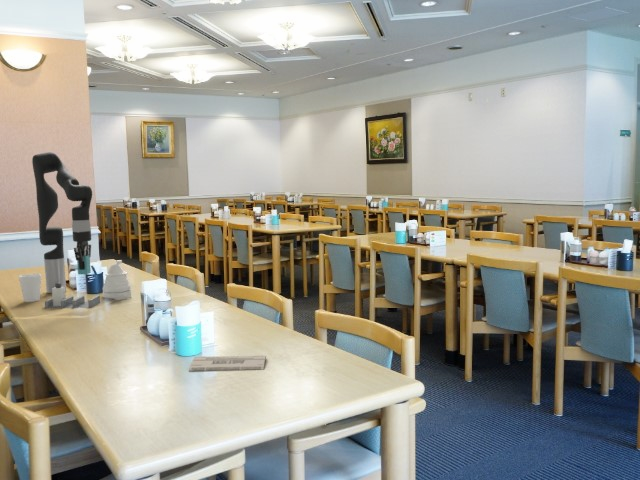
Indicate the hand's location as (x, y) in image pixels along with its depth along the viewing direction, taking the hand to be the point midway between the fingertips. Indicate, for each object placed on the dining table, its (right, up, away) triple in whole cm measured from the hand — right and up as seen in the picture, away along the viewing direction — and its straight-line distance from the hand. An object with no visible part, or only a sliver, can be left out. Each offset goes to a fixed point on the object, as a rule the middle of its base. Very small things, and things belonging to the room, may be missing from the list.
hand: (84, 268), depth 256 cm
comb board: (-6, -17, +2) cm, 18 cm away
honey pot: (+7, -15, +22) cm, 28 cm away
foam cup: (-30, -17, +13) cm, 37 cm away
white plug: (-12, -16, +2) cm, 20 cm away
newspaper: (+77, -26, -82) cm, 115 cm away
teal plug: (0, -2, 0) cm, 2 cm away
